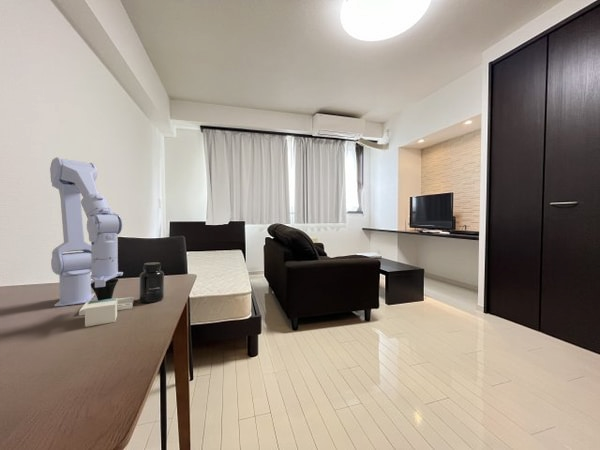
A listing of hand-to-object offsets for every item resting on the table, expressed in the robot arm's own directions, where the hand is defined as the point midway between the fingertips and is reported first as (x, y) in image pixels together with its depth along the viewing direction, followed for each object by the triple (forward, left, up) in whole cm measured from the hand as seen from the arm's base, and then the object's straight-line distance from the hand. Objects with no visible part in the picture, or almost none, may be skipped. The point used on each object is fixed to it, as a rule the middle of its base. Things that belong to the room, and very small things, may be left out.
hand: (105, 306), depth 70 cm
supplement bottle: (-8, +11, -2) cm, 14 cm away
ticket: (-6, 0, -2) cm, 6 cm away
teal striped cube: (+4, 0, -2) cm, 5 cm away
